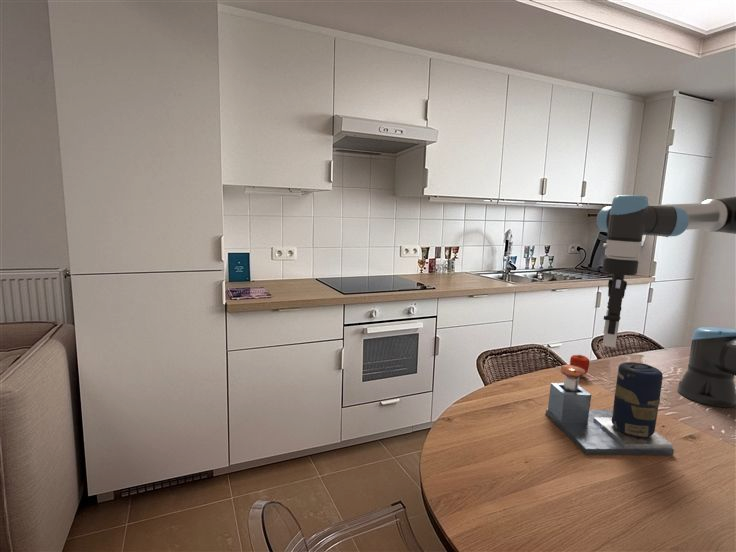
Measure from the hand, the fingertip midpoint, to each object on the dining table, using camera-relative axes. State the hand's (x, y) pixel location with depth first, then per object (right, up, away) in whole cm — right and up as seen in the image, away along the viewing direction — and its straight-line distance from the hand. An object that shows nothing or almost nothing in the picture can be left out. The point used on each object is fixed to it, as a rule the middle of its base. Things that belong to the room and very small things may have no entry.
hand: (608, 339), depth 106 cm
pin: (-7, -18, +7) cm, 20 cm away
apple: (+13, -20, +42) cm, 48 cm away
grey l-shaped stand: (0, -25, +3) cm, 25 cm away
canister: (+6, -23, 0) cm, 24 cm away
